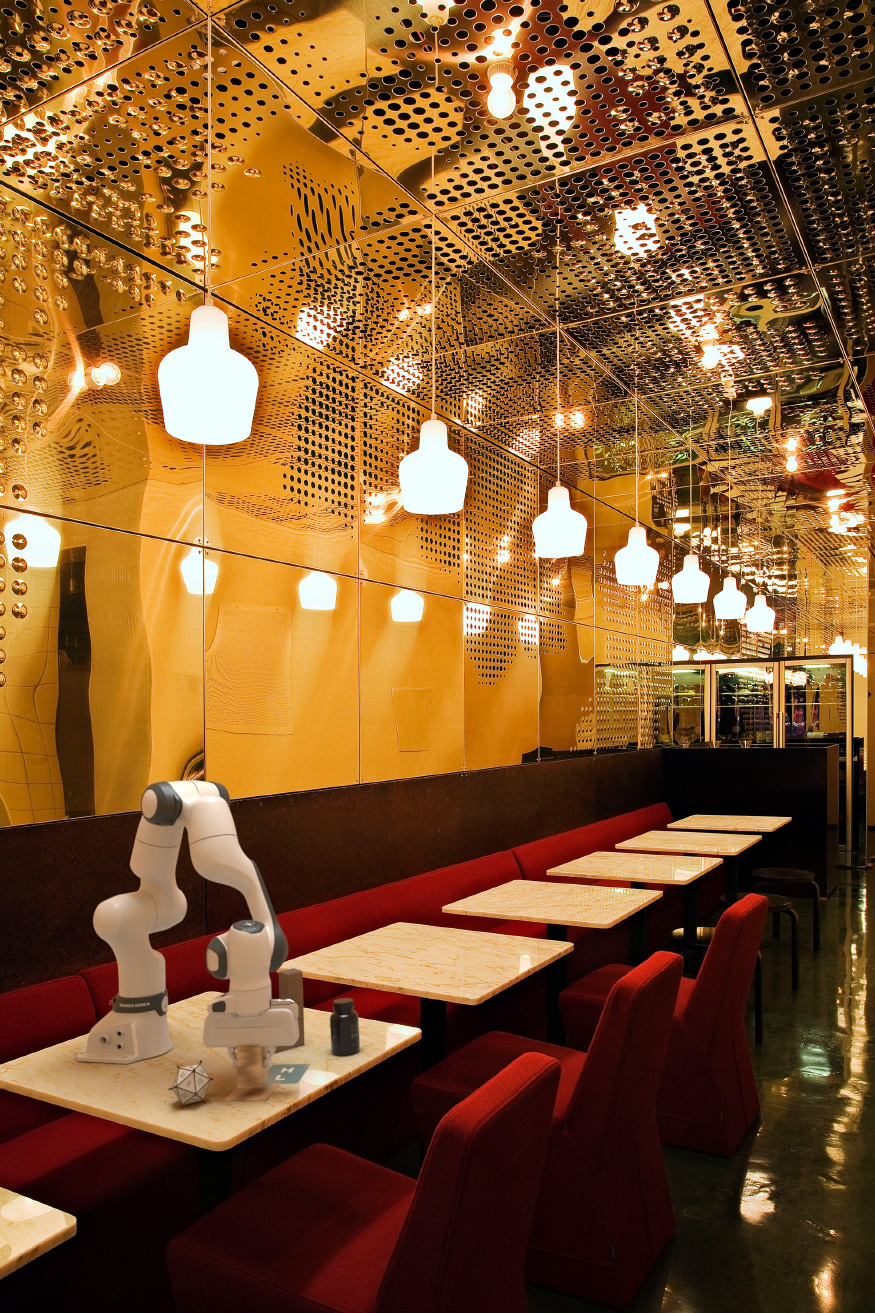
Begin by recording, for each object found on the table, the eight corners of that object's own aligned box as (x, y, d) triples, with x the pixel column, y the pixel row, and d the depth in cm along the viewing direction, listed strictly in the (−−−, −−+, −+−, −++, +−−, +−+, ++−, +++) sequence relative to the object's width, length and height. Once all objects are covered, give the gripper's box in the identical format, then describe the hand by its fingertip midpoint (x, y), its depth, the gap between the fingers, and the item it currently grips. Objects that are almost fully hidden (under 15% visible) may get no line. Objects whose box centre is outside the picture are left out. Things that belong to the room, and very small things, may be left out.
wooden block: (272, 1055, 208) (270, 977, 211) (263, 1051, 212) (261, 974, 214) (305, 1046, 214) (303, 970, 216) (296, 1042, 218) (294, 967, 220)
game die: (181, 1125, 179) (152, 1085, 180) (210, 1096, 186) (181, 1058, 187) (201, 1112, 174) (171, 1071, 175) (230, 1082, 181) (200, 1043, 182)
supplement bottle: (354, 1046, 212) (352, 995, 214) (364, 1054, 206) (362, 1001, 207) (327, 1051, 209) (325, 999, 211) (336, 1059, 203) (334, 1006, 204)
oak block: (237, 1087, 182) (236, 1047, 183) (244, 1078, 187) (243, 1040, 188) (260, 1087, 182) (259, 1047, 183) (267, 1078, 187) (266, 1039, 188)
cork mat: (224, 1102, 180) (224, 1100, 180) (238, 1086, 189) (238, 1084, 189) (267, 1102, 179) (266, 1100, 179) (278, 1085, 188) (278, 1083, 188)
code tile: (257, 1085, 189) (257, 1084, 189) (272, 1065, 201) (272, 1064, 201) (297, 1084, 188) (297, 1083, 188) (310, 1065, 200) (310, 1064, 200)
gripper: (301, 994, 189) (303, 1061, 187) (210, 997, 190) (211, 1063, 189) (294, 1002, 182) (296, 1072, 181) (199, 1005, 184) (201, 1074, 183)
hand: (252, 1067), depth 185 cm, fingers closed on oak block, 5 cm apart
